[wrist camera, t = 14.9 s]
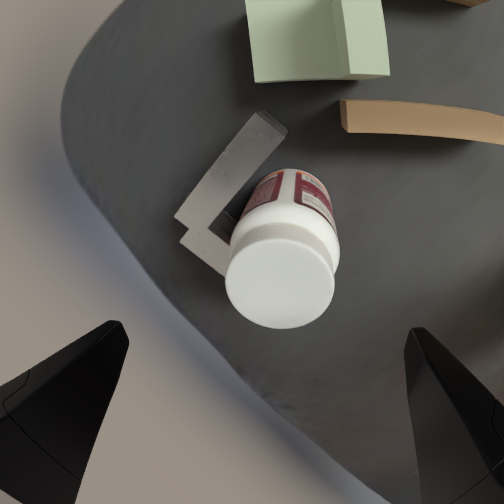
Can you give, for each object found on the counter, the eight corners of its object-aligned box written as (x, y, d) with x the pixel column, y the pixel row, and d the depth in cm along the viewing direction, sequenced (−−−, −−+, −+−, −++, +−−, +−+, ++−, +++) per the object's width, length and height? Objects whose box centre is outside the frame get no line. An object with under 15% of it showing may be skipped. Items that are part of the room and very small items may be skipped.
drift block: (364, 80, 14) (390, 75, 9) (260, 83, 15) (239, 79, 10) (355, 3, 12) (374, -32, 7) (251, 7, 13) (227, -26, 8)
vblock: (297, 285, 21) (295, 314, 18) (209, 285, 22) (196, 311, 20) (286, 107, 16) (282, 110, 13) (179, 119, 17) (157, 126, 14)
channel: (481, 135, 14) (507, 145, 11) (341, 126, 16) (348, 132, 13) (467, -14, 9) (490, -25, 7) (322, -34, 11) (324, -55, 8)
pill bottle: (254, 242, 20) (223, 334, 13) (248, 168, 18) (204, 229, 11) (330, 242, 19) (339, 338, 12) (331, 167, 17) (349, 229, 10)
